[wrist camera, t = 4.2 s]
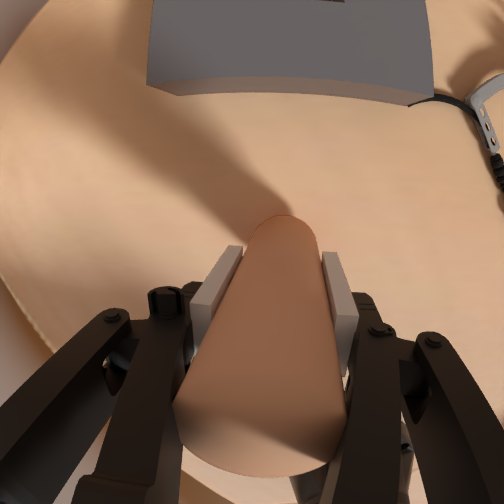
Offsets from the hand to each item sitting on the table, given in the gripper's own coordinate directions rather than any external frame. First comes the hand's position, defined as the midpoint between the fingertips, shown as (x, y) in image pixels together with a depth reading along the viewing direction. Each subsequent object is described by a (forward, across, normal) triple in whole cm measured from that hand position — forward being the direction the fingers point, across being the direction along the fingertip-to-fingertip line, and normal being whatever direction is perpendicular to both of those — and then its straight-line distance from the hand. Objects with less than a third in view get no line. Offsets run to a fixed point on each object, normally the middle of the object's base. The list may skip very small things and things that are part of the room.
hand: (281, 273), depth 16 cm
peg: (+4, 0, 0) cm, 4 cm away
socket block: (+6, 0, -18) cm, 19 cm away
